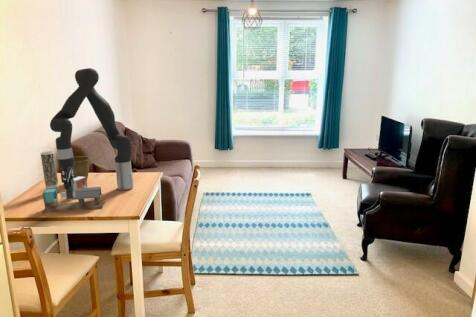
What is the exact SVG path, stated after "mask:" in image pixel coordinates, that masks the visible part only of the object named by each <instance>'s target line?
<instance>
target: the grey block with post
mask: <svg viewBox="0 0 476 317" xmlns="http://www.w3.org/2000/svg"><path fill="white" fill-rule="evenodd" d="M99 192H100V190H99ZM60 198H65V199H66V200H73V199H74V198H76V196H75V191H74V187H73V180H72V179H69V189H67V190H65V191H61V192H60Z"/></svg>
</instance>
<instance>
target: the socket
mask: <svg viewBox="0 0 476 317" xmlns="http://www.w3.org/2000/svg"><path fill="white" fill-rule="evenodd" d="M42 198H43V204H44V203H51V202H55V201H56V200H57V199H58V193H57V190H56V189H46V188H45V190H43V192H42ZM58 200H59V199H58Z"/></svg>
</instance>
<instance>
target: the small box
mask: <svg viewBox="0 0 476 317" xmlns="http://www.w3.org/2000/svg"><path fill="white" fill-rule="evenodd" d="M73 180H74V184H73V187H74V191H75V190H76V189H77V188H88V179H87V180H86V177H81V176H78V177H76V178H73Z"/></svg>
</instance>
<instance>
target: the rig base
mask: <svg viewBox="0 0 476 317" xmlns="http://www.w3.org/2000/svg"><path fill="white" fill-rule="evenodd" d="M93 199H94V200H86V201H85V199H77V201H72V202H61V203H59V199H57V200H56V201H55V202H51V203H44V202H43V204H44V209H43V210H42V214H47V213H48V214H49V213H50V214H51V213H61V212H73V211H74V212H76V211H87V210H98V209H101V210H102V209H103V207H104V206H103V205H105V203H106V199H101V197H100V198H93Z"/></svg>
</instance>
